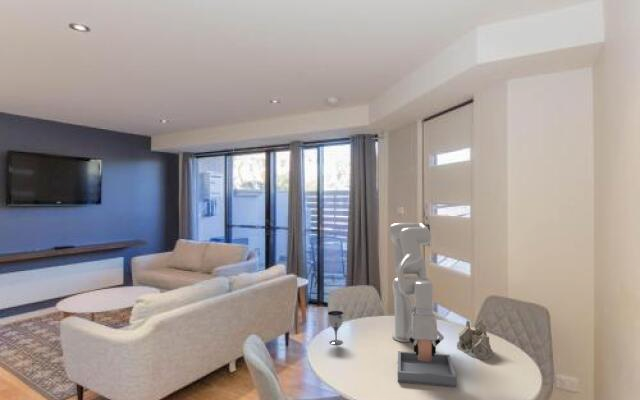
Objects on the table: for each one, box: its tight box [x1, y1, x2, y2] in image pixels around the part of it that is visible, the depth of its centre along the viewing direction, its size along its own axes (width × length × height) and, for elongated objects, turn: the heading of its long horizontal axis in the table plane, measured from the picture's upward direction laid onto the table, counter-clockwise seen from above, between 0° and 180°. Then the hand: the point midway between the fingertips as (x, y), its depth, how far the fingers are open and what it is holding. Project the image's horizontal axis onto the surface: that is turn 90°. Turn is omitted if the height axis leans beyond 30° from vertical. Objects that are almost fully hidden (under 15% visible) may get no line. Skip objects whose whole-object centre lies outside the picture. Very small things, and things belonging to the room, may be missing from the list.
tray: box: [397, 350, 457, 388], centre depth 151 cm, size 20×22×4 cm
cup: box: [417, 339, 432, 362], centre depth 151 cm, size 6×6×9 cm
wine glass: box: [327, 310, 344, 346], centre depth 185 cm, size 8×8×15 cm
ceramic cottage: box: [456, 317, 494, 360], centre depth 171 cm, size 16×16×15 cm
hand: (424, 354), depth 151 cm, fingers closed on cup, 6 cm apart
